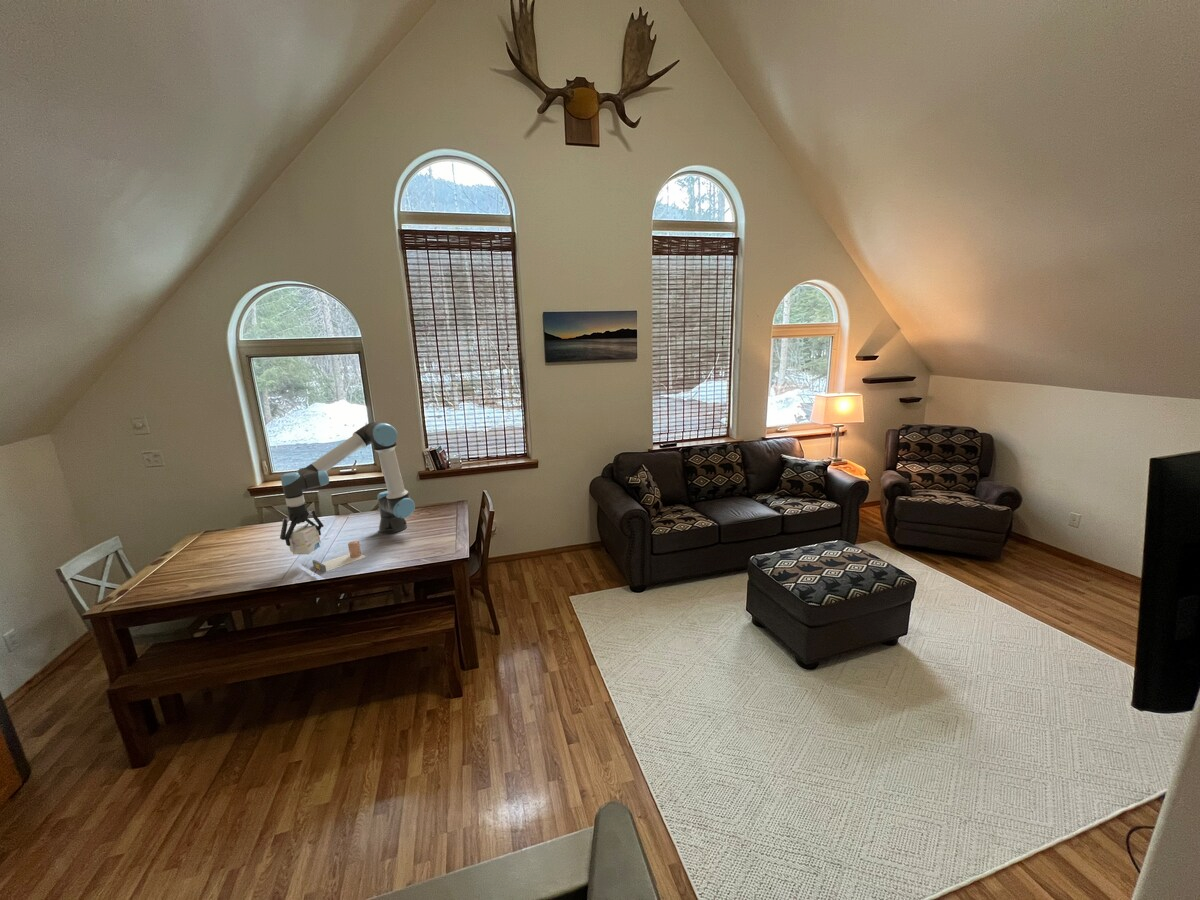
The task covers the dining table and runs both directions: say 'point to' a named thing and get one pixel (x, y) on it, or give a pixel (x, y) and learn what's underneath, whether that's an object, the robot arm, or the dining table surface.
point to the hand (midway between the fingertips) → (305, 546)
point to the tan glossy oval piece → (354, 549)
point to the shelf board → (335, 562)
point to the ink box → (304, 539)
